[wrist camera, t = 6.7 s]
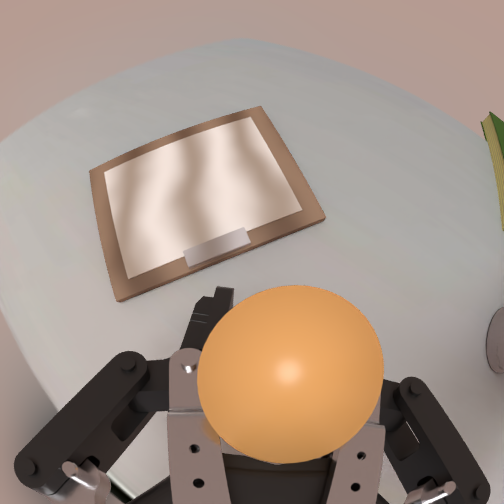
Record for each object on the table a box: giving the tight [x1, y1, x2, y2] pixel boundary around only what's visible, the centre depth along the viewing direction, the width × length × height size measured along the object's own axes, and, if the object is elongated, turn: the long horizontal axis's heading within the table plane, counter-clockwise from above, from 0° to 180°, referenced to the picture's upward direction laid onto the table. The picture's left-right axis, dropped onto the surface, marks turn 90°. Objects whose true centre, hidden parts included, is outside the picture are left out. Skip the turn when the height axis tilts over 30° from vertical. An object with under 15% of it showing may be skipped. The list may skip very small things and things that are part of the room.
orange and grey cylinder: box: [197, 285, 384, 463], centre depth 11 cm, size 4×4×11 cm
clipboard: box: [89, 106, 326, 302], centre depth 28 cm, size 22×16×2 cm
